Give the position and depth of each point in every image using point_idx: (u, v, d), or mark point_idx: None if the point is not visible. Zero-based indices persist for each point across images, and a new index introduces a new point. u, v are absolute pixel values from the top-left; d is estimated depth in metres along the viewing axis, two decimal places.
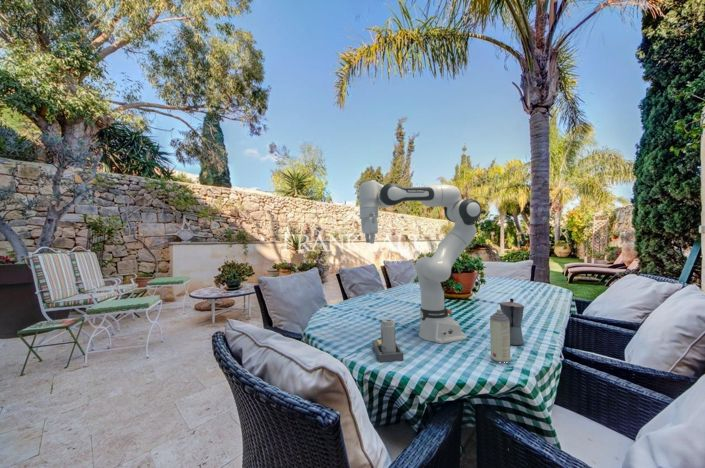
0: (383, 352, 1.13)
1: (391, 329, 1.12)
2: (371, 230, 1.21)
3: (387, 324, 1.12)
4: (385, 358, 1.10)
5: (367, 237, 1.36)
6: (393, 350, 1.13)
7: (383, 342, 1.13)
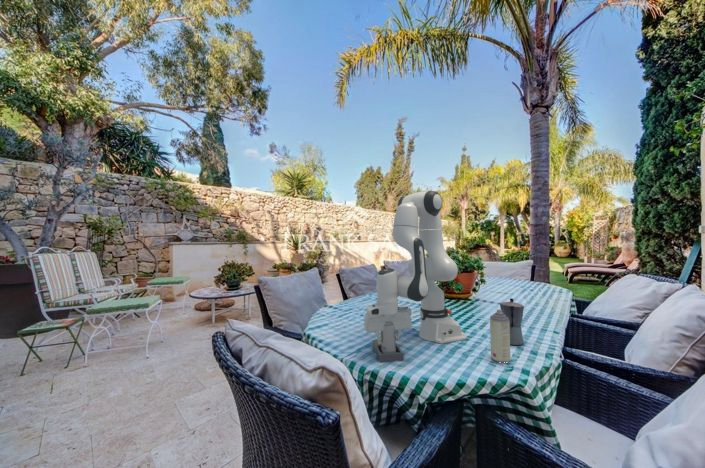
0: (383, 352, 1.13)
1: (391, 329, 1.12)
2: (411, 325, 1.15)
3: (387, 324, 1.12)
4: (385, 358, 1.10)
5: None
6: (393, 350, 1.13)
7: (383, 342, 1.13)
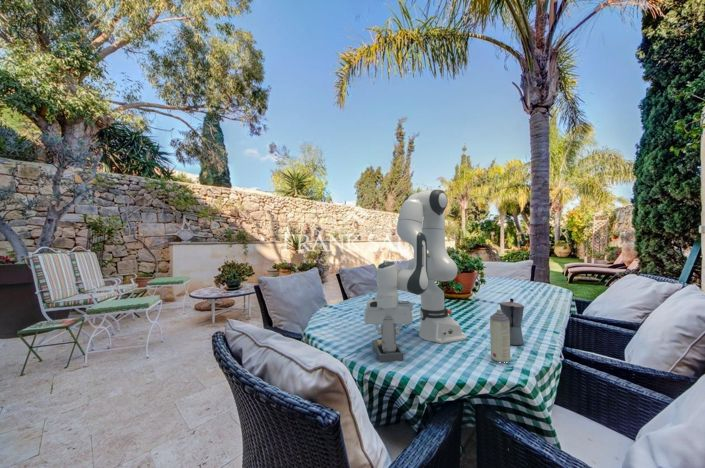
0: (383, 346, 1.14)
1: (390, 324, 1.12)
2: (412, 320, 1.13)
3: (386, 319, 1.13)
4: (385, 358, 1.10)
5: (378, 327, 1.15)
6: (392, 345, 1.12)
7: (382, 336, 1.14)
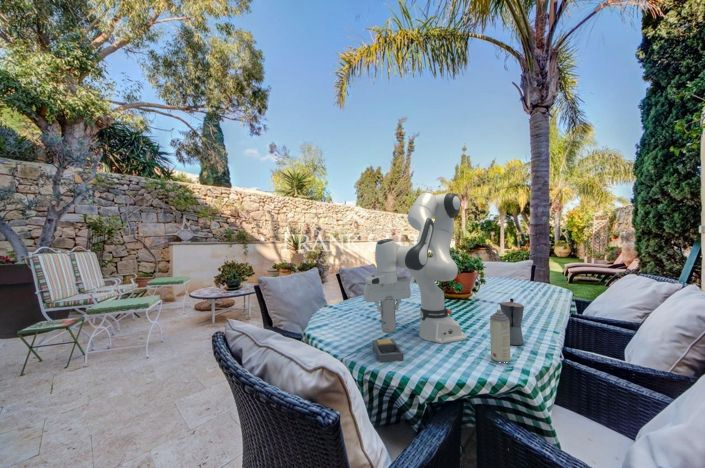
0: (383, 326, 1.13)
1: (391, 303, 1.12)
2: (410, 294, 1.16)
3: (387, 299, 1.13)
4: (385, 358, 1.10)
5: (378, 305, 1.14)
6: (393, 324, 1.13)
7: (383, 317, 1.13)
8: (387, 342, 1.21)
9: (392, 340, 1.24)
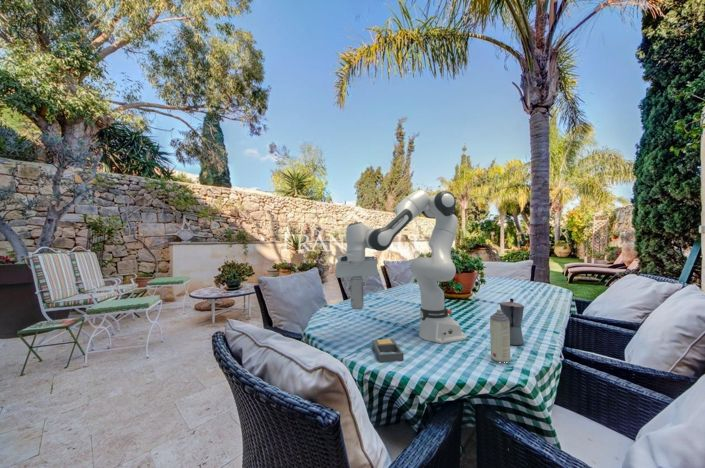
0: (351, 303, 1.27)
1: (358, 283, 1.25)
2: (377, 272, 1.28)
3: (355, 279, 1.26)
4: (385, 358, 1.10)
5: (347, 281, 1.28)
6: (360, 302, 1.26)
7: (351, 295, 1.27)
8: (387, 342, 1.21)
9: (392, 340, 1.24)
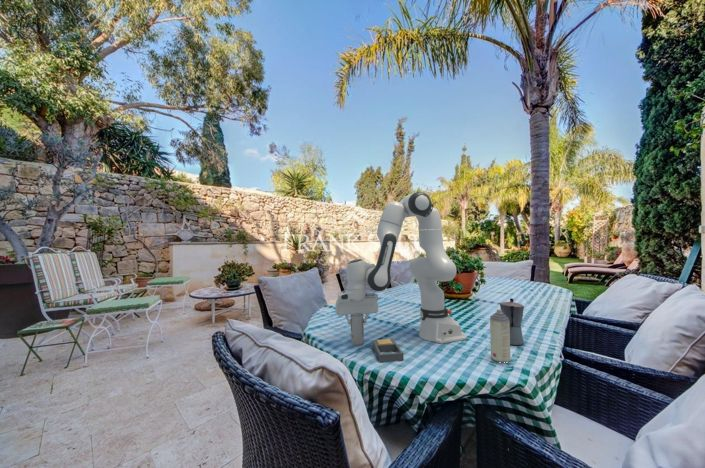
0: (352, 339, 1.27)
1: (359, 319, 1.26)
2: None
3: (355, 315, 1.26)
4: (385, 358, 1.10)
5: (347, 318, 1.28)
6: (361, 338, 1.26)
7: (352, 331, 1.27)
8: (387, 342, 1.21)
9: (392, 340, 1.24)
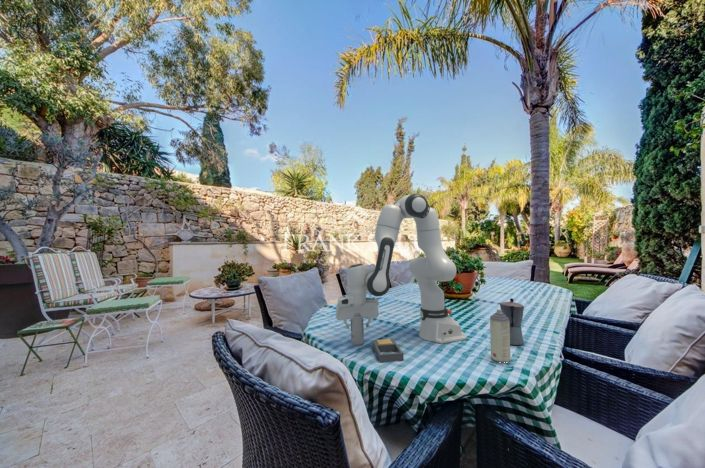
0: (352, 339, 1.27)
1: (359, 319, 1.26)
2: None
3: (355, 315, 1.26)
4: (385, 358, 1.10)
5: None
6: (360, 338, 1.26)
7: (352, 331, 1.27)
8: (387, 342, 1.21)
9: (392, 340, 1.24)
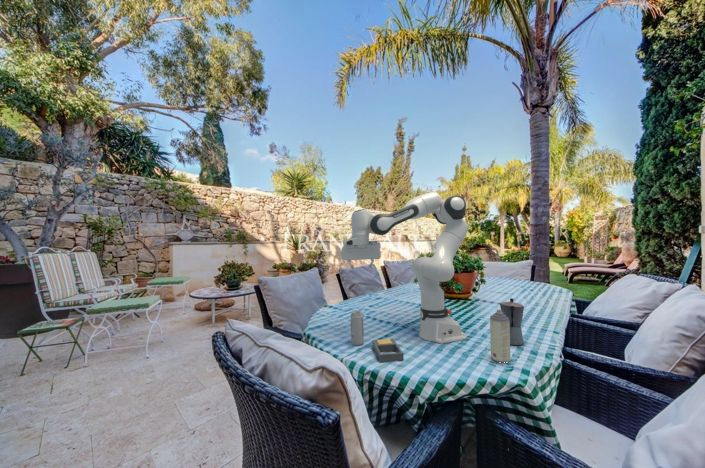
0: (352, 339, 1.27)
1: (359, 319, 1.26)
2: (380, 256, 1.39)
3: (355, 315, 1.26)
4: (385, 358, 1.10)
5: (350, 263, 1.38)
6: (360, 338, 1.26)
7: (352, 331, 1.27)
8: (387, 342, 1.21)
9: (392, 340, 1.24)
